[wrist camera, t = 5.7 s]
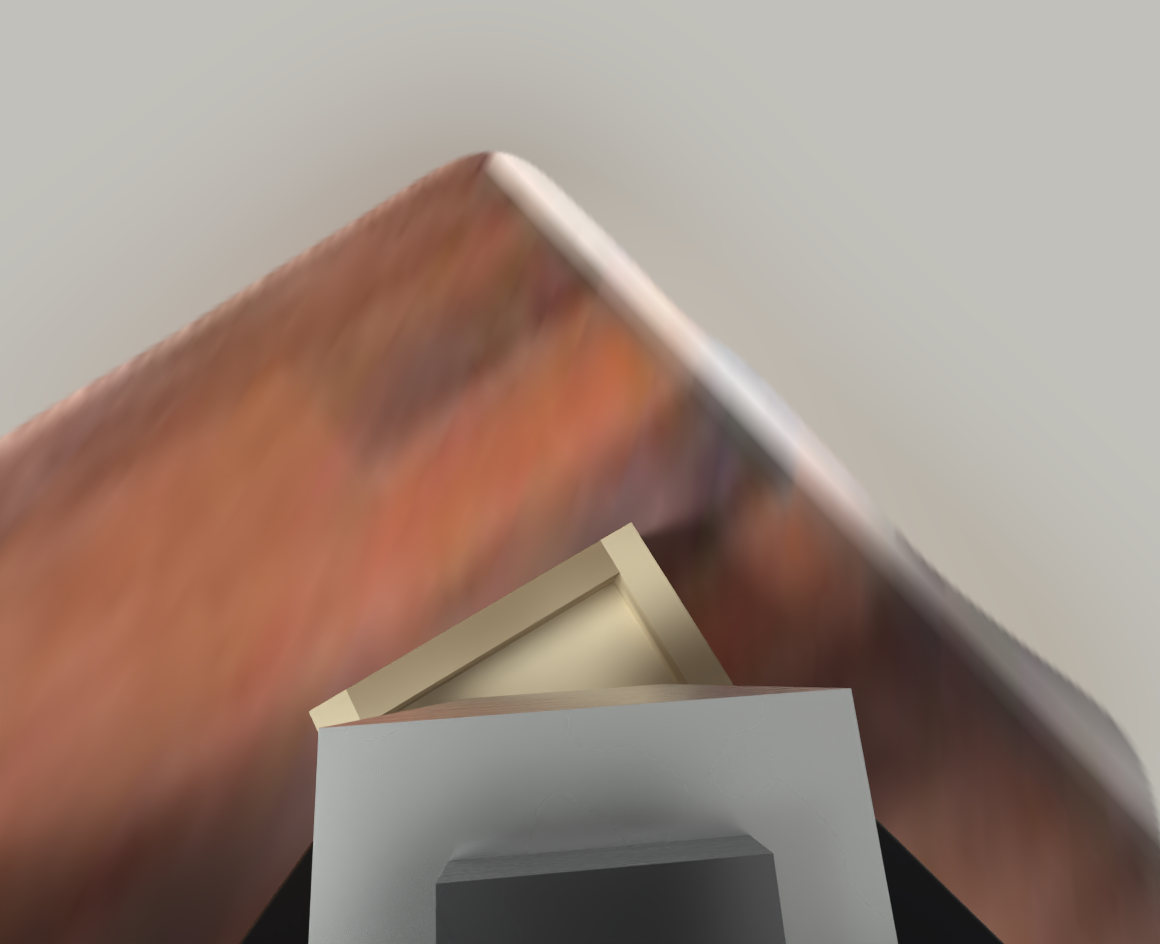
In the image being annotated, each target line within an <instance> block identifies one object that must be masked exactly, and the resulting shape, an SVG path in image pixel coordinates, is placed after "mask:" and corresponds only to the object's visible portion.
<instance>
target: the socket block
mask: <svg viewBox="0 0 1160 944" xmlns="http://www.w3.org/2000/svg"><path fill="white" fill-rule="evenodd" d="M308 944H898V941H897V935H896V930H895V925H894V919H893V914H892V908H891V903H890V897H889V892H888V887H887V881H886V876H885V870H884V865H883V859H882V854H881V849H880V843H879V838H878V832H877V827H876V821H875V816H874V811H873V805H872V800H871V794H870V789H869V783H868V778H867V773H866V767H865V762H864V756H863V751H862V745H861V740H860V735H859V729H858V724H857V718H856V713H855V707H854V702H853V696H852V691H851V688H819V687H776V686H732V685H689V684H655V685H642V686H628V687H615V688H601V689H587V690H574V691H560V692H546V693H533V694H519V695H505V696H492V697H478V698H467V699H462V700H457V701H452V702H447V703H442V704H437V705H432V706H427V707H422V708H417V709H412V710H407V711H402V712H397V713H392V714H387V715H382V716H377V717H372V718H367V719H362V720H357V721H352V722H347V723H342V724H337V725H332V726H327V727H322V728H319V734H318V755H317V776H316V797H315V817H314V838H313V859H312V880H311V901H310V921H309V942H308Z"/></svg>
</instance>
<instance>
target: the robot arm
mask: <svg viewBox="0 0 1160 944" xmlns="http://www.w3.org/2000/svg"><path fill="white" fill-rule="evenodd" d="M875 821H876V827H877V832H878V838H879V843H880V849H881V854H882V859H883V865H884V870H885V876H886V881H887V887H888V892H889V897H890V903H891V908H892V914H893V919H894V925H895V930H896V935H897V941H898V944H1004V943H1003V942H1002V941H1001V940H999V939H998V938H997V937H996V936H995V935H994V934H993V933H992V932H991V931H990V930H989V929H988V928H987V927H986V926H985V925H984V924H983V923H982V922H981V921H980V920H979V919H978V918H977V917H976V916H975V915H974V914H973V913H972V912H971V911H970V910H969V909H968V908H967V907H966V906H965V905H964V904H963V903H962V902H961V901H960V900H959V899H958V898H956V897H955V896H954V895H953V894H952V893H951V892H950V891H949V890H948V889H947V888H946V887H945V886H944V885H943V884H942V883H941V882H940V881H939V880H938V879H937V878H936V877H935V876H934V875H933V874H932V873H931V872H930V871H929V870H928V869H927V868H926V867H925V866H924V865H923V864H922V863H921V862H920V861H919V860H918V859H917V858H916V857H915V856H913V855H912V854H911V853H910V852H909V851H908V850H907V849H906V848H905V847H904V846H903V845H902V844H901V843H900V842H899V841H898V840H897V839H896V838H895V837H894V836H893V835H892V834H891V833H890V832H889V831H888V830H887V829H886V828H885V827H884V826H883V825H882V824H881V823H880V822H879V821H878V820H877V819H876V818H875ZM312 859H313V842H312V843H311V844H310V846H309V847H308V849H307V850H306V851H305V853H304V854H303V856H302V857H301V858H300V860H299V861H298V862H297V864H296V865H295V867H294V868H293V869H292V871H291V872H290V874H289V875H288V876H287V878H286V879H285V880H284V882H283V883H282V885H281V886H280V887H279V889H278V890H277V892H276V893H275V894H274V896H273V897H272V898H271V900H270V901H269V903H268V904H267V905H266V907H265V908H264V910H263V911H262V912H261V914H260V915H259V916H258V918H257V919H256V921H255V922H254V923H253V925H252V926H251V928H250V929H249V930H248V932H247V933H246V935H245V936H244V937H243V939H242V940H241V941H240V943H239V944H308V942H309V921H310V901H311V880H312Z"/></svg>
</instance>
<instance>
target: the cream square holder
mask: <svg viewBox="0 0 1160 944" xmlns="http://www.w3.org/2000/svg"><path fill="white" fill-rule="evenodd" d="M655 684H689V685H732V686H734V684H733V683H732V681H731V680H730V678H729V677H728V675H727V673H726V672H725V670H724V669H723V667H722V665H721V664H720V662H719V661H718V659H717V657H716V656H715V654H714V653H713V651H712V650H711V648H710V646H709V645H708V643H707V642H706V640H705V638H704V637H703V635H702V634H701V632H700V631H699V629H698V627H697V626H696V624H695V623H694V621H693V619H692V618H691V616H690V615H689V613H688V611H687V610H686V608H685V607H684V605H683V604H682V602H681V600H680V599H679V597H678V596H677V594H676V592H675V591H674V589H673V588H672V586H671V585H670V583H669V581H668V580H667V578H666V577H665V575H664V573H663V572H662V570H661V569H660V567H659V565H658V564H657V562H656V561H655V559H654V558H653V556H652V554H651V553H650V551H649V550H648V548H647V546H646V545H645V543H644V542H643V540H642V538H641V537H640V535H639V534H638V532H637V531H636V529H635V527H634V526H633V524H632V523H629V524H627V525H626V526H624V527H622V528H621V529H619V530H617V531H615V532H614V533H612V534H610V535H609V536H607V537H605V538H604V539H602V540H600V541H598V542H597V543H595V544H593V545H592V546H590V547H588V548H586V549H585V550H583V551H581V552H580V553H578V554H576V555H575V556H573V557H571V558H569V559H568V560H566V561H564V562H563V563H561V564H559V565H558V566H556V567H554V568H552V569H551V570H549V571H547V572H546V573H544V574H542V575H540V576H539V577H537V578H535V579H534V580H532V581H530V582H529V583H527V584H525V585H523V586H522V587H520V588H518V589H517V590H515V591H513V592H511V593H510V594H508V595H506V596H505V597H503V598H501V599H500V600H498V601H496V602H494V603H493V604H491V605H489V606H488V607H486V608H484V609H483V610H481V611H479V612H477V613H476V614H474V615H472V616H471V617H469V618H467V619H465V620H464V621H462V622H460V623H459V624H457V625H455V626H454V627H452V628H450V629H448V630H447V631H445V632H443V633H442V634H440V635H438V636H436V637H435V638H433V639H431V640H430V641H428V642H426V643H425V644H423V645H421V646H419V647H418V648H416V649H414V650H413V651H411V652H409V653H408V654H406V655H404V656H402V657H401V658H399V659H397V660H396V661H394V662H392V663H390V664H389V665H387V666H385V667H384V668H382V669H380V670H379V671H377V672H375V673H373V674H372V675H370V676H368V677H367V678H365V679H363V680H362V681H360V682H358V683H356V684H355V685H353V686H351V687H350V688H348V689H346V690H344V691H343V692H341V693H339V694H338V695H336V696H334V697H333V698H331V699H329V700H327V701H326V702H324V703H322V704H321V705H319V706H317V707H315V708H314V709H312V710H310V711H309V713H310V715H311V717H312V720H313V722H314V724H315V726H316V728H317V731H318V733H319V728H322V727H327V726H332V725H337V724H342V723H347V722H352V721H357V720H362V719H367V718H372V717H377V716H382V715H387V714H392V713H397V712H402V711H407V710H412V709H417V708H422V707H427V706H432V705H437V704H442V703H447V702H452V701H457V700H462V699H467V698H478V697H492V696H505V695H519V694H533V693H546V692H560V691H574V690H587V689H601V688H615V687H628V686H642V685H655Z"/></svg>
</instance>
